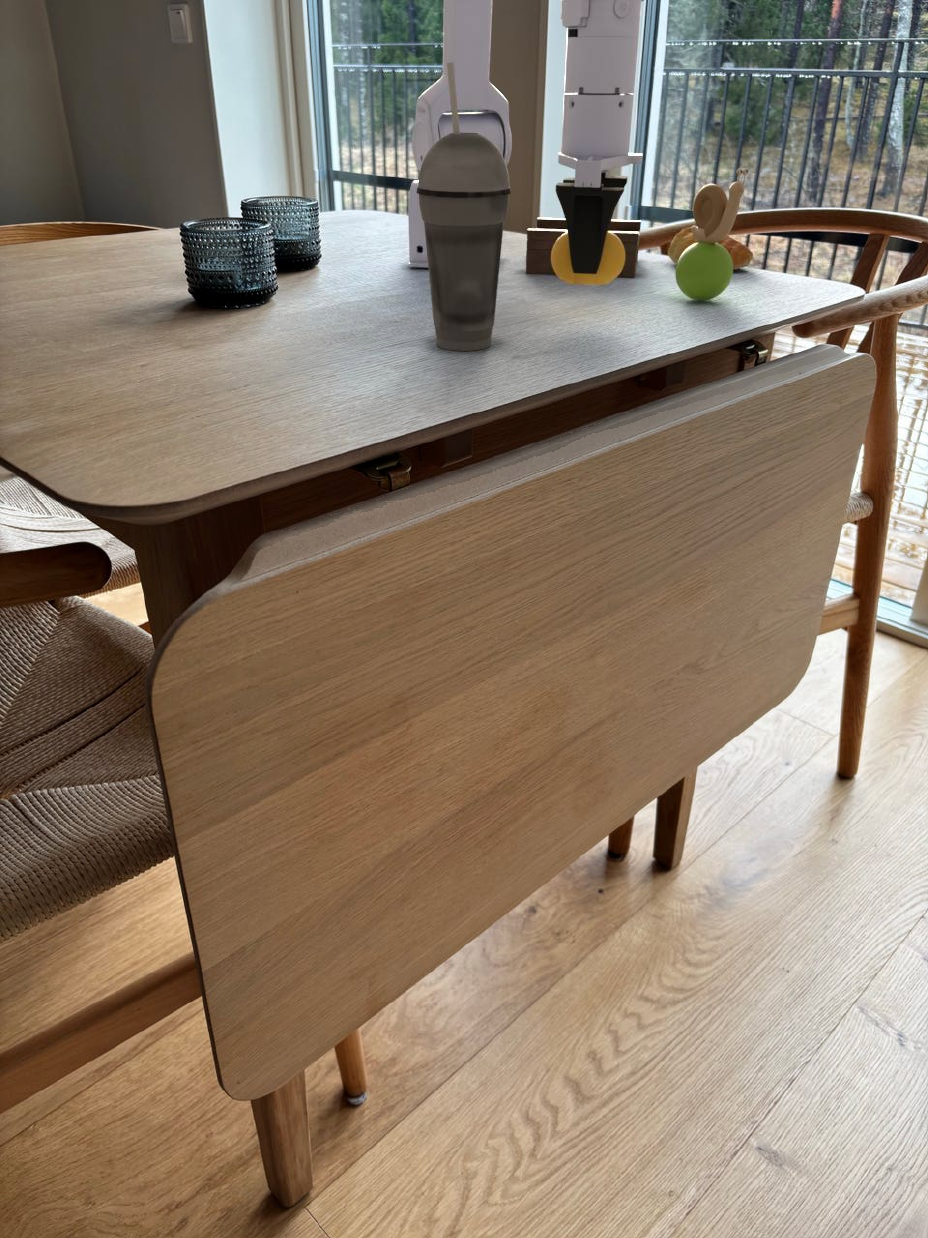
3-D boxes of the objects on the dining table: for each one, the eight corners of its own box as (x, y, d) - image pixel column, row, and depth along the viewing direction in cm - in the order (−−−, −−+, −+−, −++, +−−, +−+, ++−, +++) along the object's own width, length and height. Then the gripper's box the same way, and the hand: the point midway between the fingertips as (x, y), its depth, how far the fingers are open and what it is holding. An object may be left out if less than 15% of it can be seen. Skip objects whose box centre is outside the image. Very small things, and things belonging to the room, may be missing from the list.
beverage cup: (478, 359, 73) (481, 61, 63) (402, 347, 77) (393, 61, 67) (523, 340, 79) (533, 62, 69) (450, 329, 82) (449, 62, 72)
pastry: (762, 267, 108) (768, 232, 106) (731, 276, 104) (736, 239, 102) (692, 257, 114) (696, 223, 112) (660, 265, 110) (663, 229, 108)
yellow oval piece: (546, 287, 84) (549, 232, 81) (552, 277, 88) (554, 224, 85) (621, 290, 83) (626, 234, 80) (623, 280, 87) (628, 227, 84)
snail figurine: (703, 310, 89) (721, 169, 83) (661, 297, 94) (675, 163, 88) (747, 304, 91) (768, 167, 85) (703, 292, 96) (720, 161, 90)
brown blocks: (525, 273, 105) (527, 229, 103) (536, 257, 113) (537, 217, 111) (634, 277, 103) (638, 233, 101) (637, 261, 111) (641, 220, 109)
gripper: (646, 96, 71) (629, 285, 78) (649, 92, 83) (634, 255, 90) (552, 95, 72) (544, 281, 79) (569, 91, 84) (560, 252, 91)
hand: (587, 267), depth 84 cm, fingers closed on yellow oval piece, 4 cm apart
